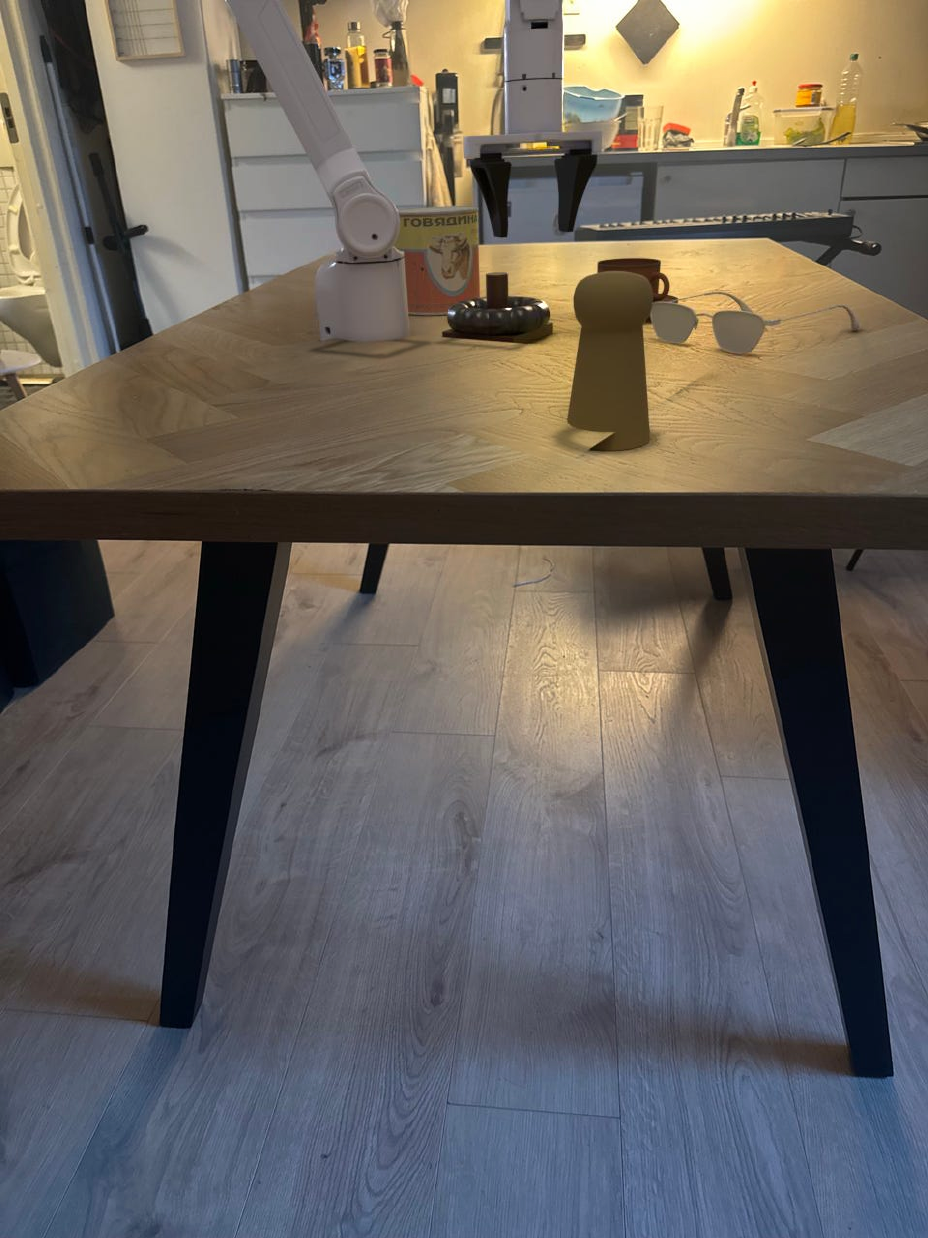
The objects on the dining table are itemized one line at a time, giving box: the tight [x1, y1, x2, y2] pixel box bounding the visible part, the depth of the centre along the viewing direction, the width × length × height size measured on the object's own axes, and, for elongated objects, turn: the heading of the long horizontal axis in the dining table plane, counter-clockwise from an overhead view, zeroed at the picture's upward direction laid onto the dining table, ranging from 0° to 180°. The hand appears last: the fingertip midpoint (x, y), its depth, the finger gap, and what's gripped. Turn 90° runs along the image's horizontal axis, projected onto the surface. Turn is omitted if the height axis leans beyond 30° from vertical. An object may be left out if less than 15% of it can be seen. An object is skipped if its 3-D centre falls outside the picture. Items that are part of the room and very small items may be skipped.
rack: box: [441, 271, 554, 345], centre depth 93 cm, size 9×9×7 cm
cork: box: [566, 271, 653, 452], centre depth 58 cm, size 6×6×11 cm
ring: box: [446, 295, 551, 335], centre depth 93 cm, size 11×11×3 cm
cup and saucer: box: [596, 257, 679, 319], centre depth 102 cm, size 12×12×6 cm
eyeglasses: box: [649, 291, 861, 355], centre depth 90 cm, size 15×18×4 cm
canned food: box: [394, 205, 481, 316], centre depth 111 cm, size 11×11×12 cm
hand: (533, 234), depth 90 cm, fingers open, 7 cm apart
